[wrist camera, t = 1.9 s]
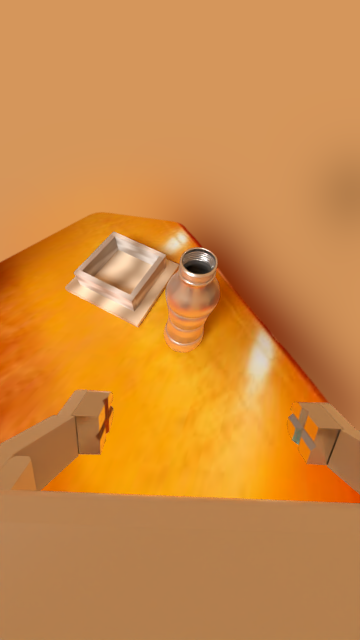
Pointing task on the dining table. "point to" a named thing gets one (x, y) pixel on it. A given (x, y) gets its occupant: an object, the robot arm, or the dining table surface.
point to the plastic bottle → (191, 299)
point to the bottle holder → (123, 278)
